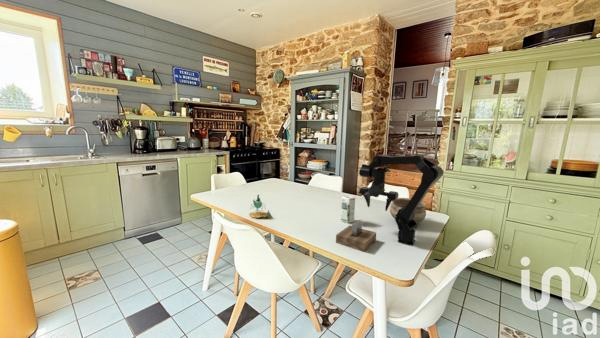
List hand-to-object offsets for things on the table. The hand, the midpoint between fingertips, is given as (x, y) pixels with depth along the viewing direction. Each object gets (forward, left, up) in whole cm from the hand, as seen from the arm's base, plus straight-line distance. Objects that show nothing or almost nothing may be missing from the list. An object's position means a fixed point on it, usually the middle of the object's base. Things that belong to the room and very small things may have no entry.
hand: (377, 208), depth 125 cm
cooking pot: (-10, -22, -12) cm, 27 cm away
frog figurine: (+64, +24, -12) cm, 69 cm away
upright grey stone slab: (+3, +18, -11) cm, 21 cm away
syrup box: (+18, -3, -12) cm, 22 cm away
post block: (+3, +18, -12) cm, 22 cm away
